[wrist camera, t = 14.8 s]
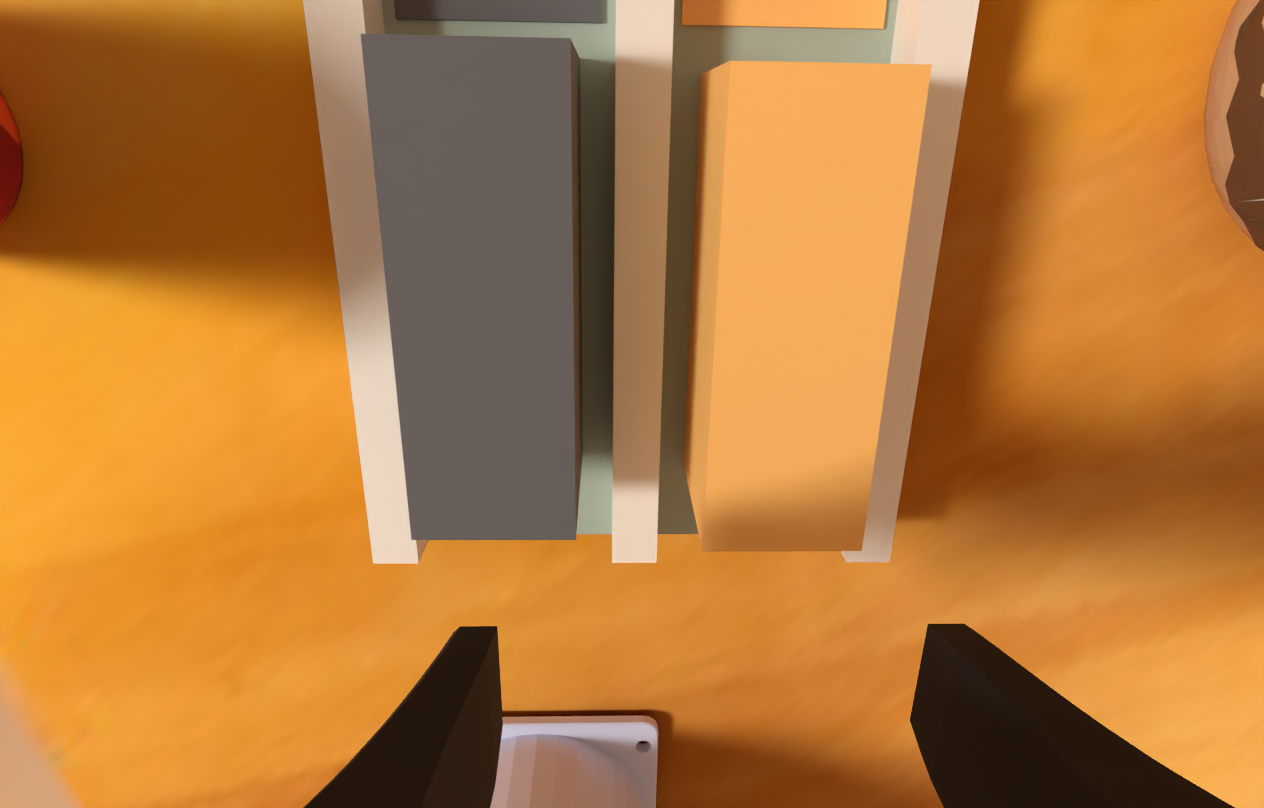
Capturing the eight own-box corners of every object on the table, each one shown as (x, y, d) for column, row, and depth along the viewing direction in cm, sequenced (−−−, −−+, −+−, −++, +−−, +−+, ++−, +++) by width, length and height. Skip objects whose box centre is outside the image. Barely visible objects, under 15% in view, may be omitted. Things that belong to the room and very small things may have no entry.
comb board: (860, 516, 23) (889, 561, 20) (398, 516, 22) (373, 563, 20) (942, -58, 17) (993, -86, 15) (333, -73, 17) (290, -104, 15)
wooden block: (811, 464, 21) (861, 550, 17) (683, 464, 21) (702, 551, 17) (854, 77, 18) (931, 64, 13) (700, 74, 17) (730, 60, 13)
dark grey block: (582, 454, 21) (575, 539, 17) (451, 454, 21) (411, 539, 16) (579, 57, 17) (570, 37, 13) (421, 55, 17) (360, 33, 13)
